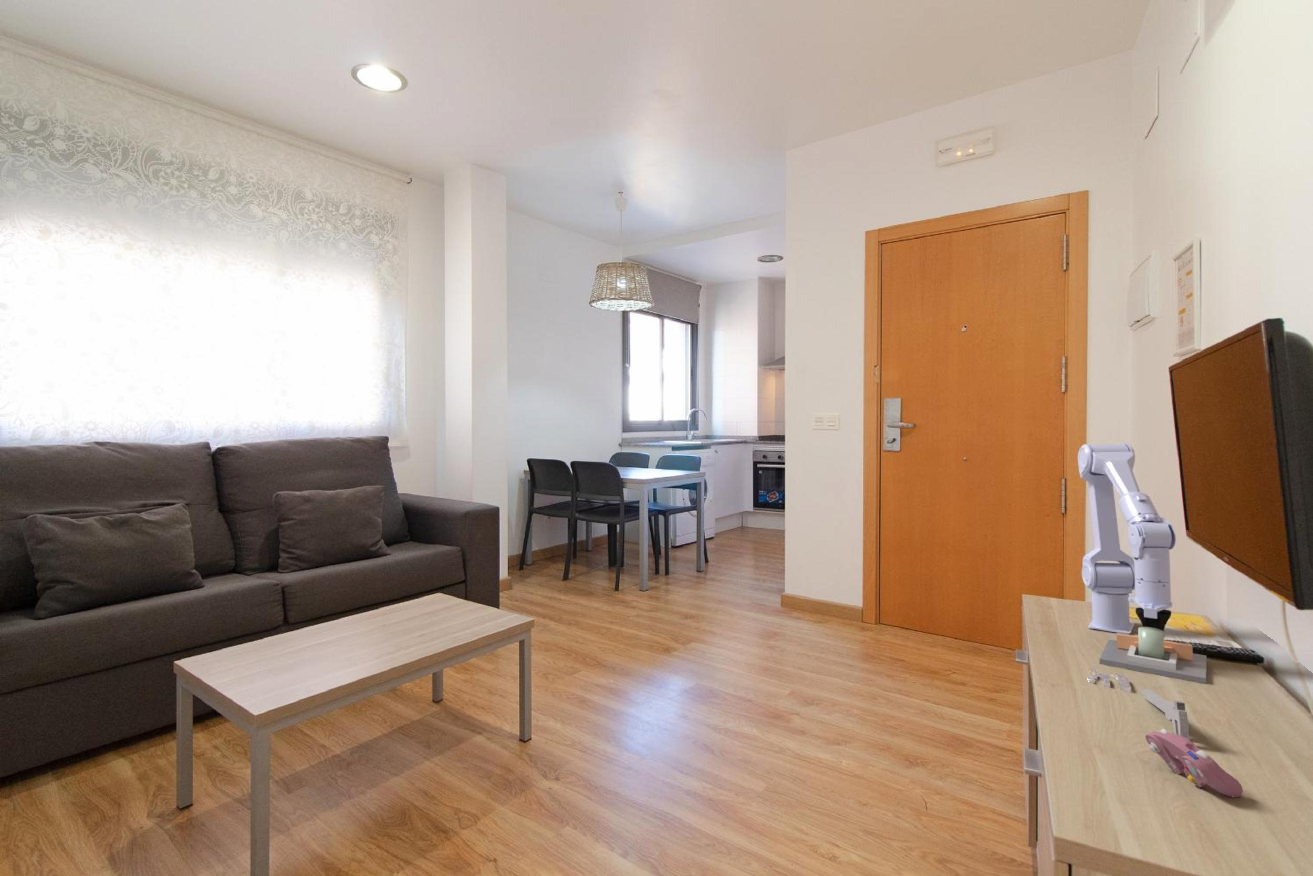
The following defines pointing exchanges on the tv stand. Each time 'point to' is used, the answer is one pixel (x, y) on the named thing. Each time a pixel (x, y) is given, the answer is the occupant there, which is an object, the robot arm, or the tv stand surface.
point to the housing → (1155, 663)
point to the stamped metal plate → (1122, 681)
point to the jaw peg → (1151, 642)
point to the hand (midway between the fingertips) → (1154, 644)
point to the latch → (1180, 648)
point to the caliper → (1170, 712)
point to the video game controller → (1192, 762)
